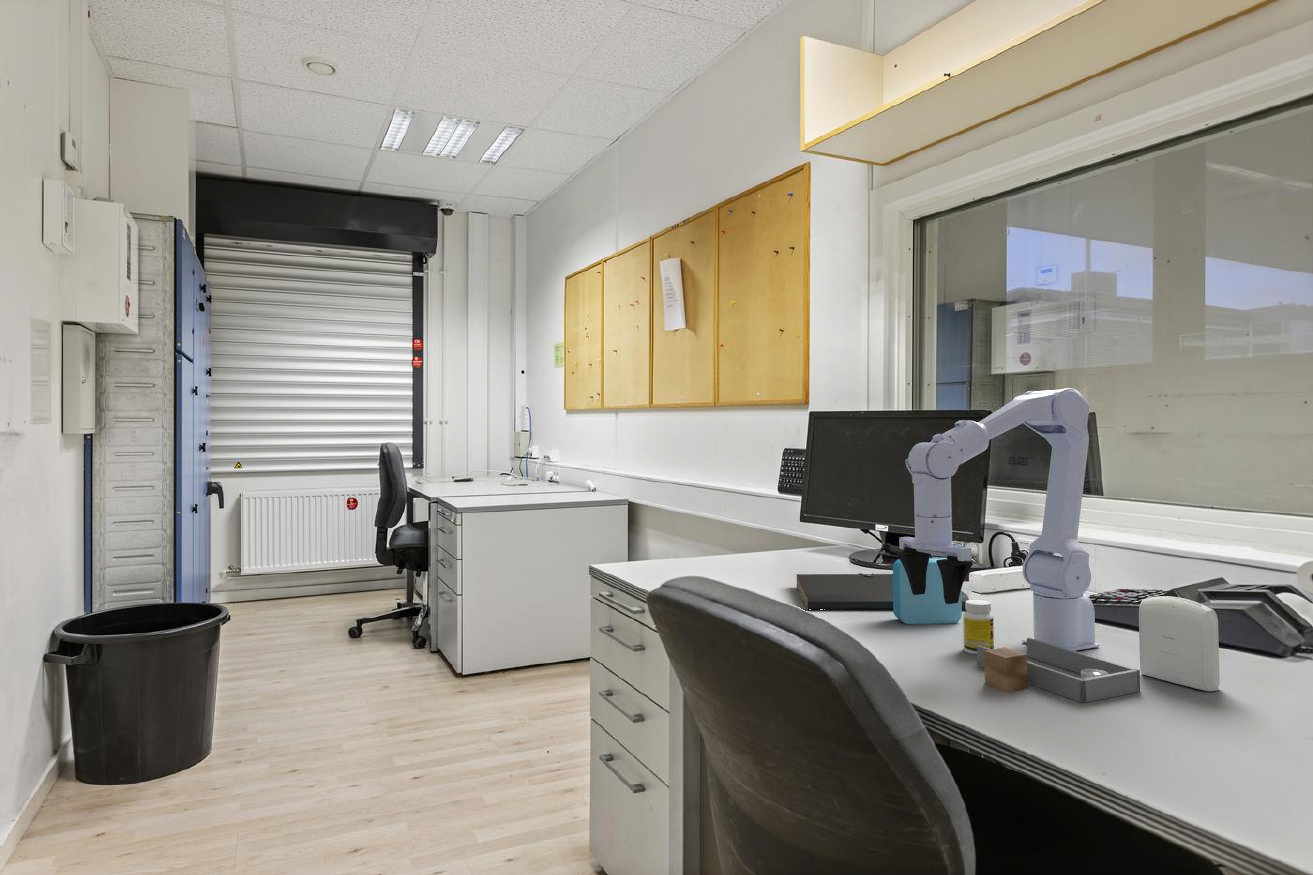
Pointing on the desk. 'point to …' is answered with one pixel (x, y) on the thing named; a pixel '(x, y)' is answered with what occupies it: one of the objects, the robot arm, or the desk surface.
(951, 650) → the desk surface
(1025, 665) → the walnut block
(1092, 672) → the metal cylinder
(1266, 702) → the desk surface
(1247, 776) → the desk surface
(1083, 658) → the bay
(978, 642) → the supplement bottle
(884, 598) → the file folder
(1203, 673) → the photo printer
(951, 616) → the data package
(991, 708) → the desk surface
